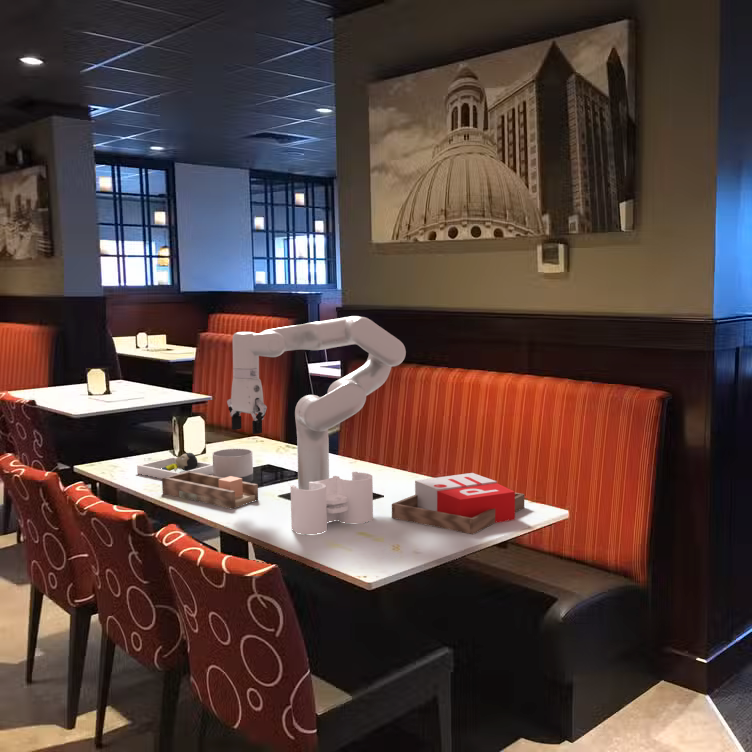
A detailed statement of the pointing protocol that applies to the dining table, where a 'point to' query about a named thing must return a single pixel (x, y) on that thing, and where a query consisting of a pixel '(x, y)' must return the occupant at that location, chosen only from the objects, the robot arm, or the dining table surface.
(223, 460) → the planter
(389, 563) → the dining table surface
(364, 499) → the bracket
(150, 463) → the toy tray
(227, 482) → the block
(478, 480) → the red and white box
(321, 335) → the robot arm
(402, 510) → the logo tray
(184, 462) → the toy
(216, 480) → the long wooden tray
